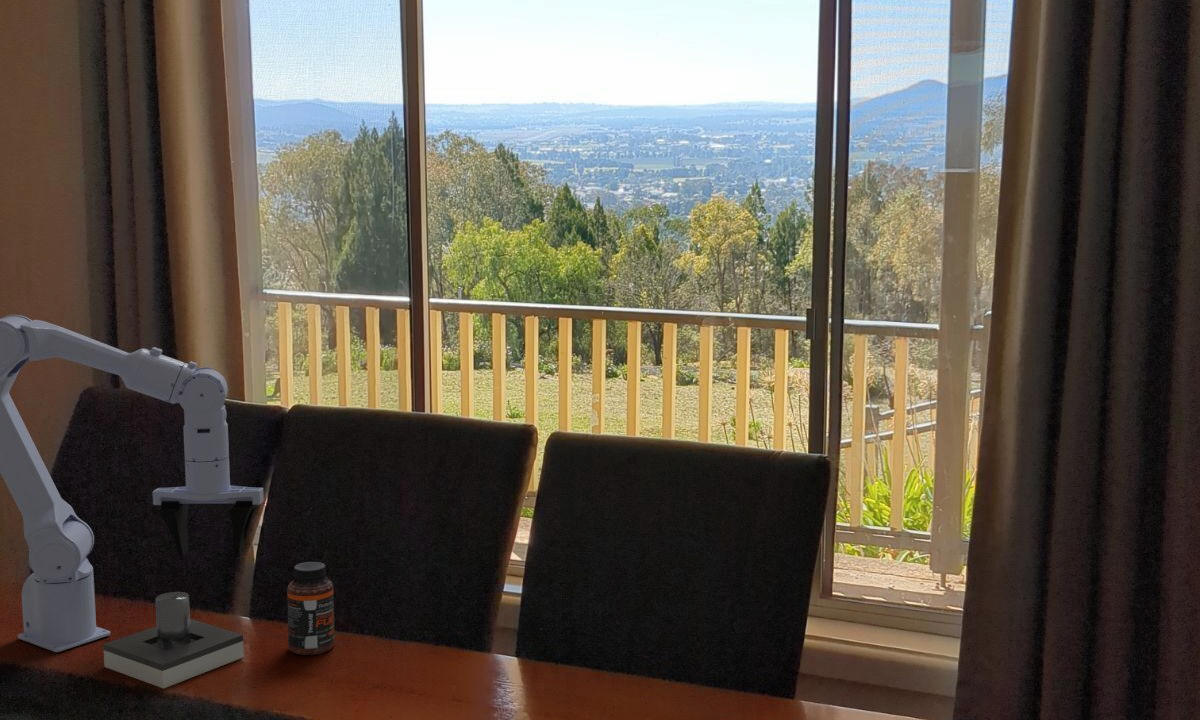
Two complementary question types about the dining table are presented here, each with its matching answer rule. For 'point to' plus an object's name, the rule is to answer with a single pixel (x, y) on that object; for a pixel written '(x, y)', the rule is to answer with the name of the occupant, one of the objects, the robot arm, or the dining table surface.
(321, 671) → the dining table surface
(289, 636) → the supplement bottle
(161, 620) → the steel peg
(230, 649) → the socket
